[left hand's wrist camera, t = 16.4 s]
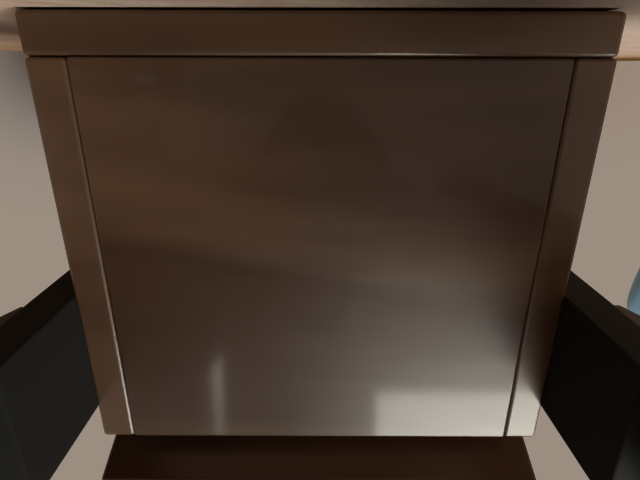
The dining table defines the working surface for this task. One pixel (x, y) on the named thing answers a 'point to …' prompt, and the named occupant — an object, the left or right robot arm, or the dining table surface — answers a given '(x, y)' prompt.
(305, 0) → the dining table surface
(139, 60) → the chest
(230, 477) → the lid
